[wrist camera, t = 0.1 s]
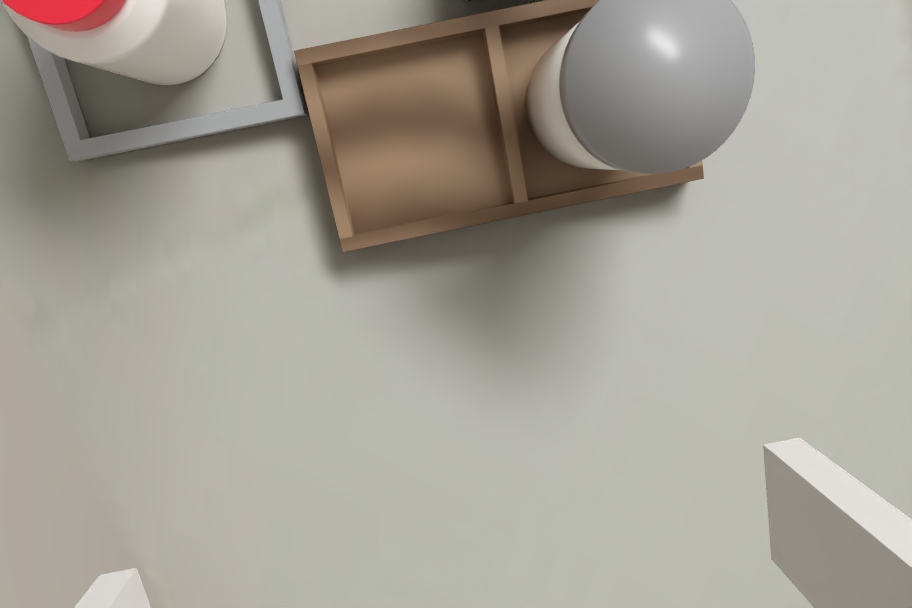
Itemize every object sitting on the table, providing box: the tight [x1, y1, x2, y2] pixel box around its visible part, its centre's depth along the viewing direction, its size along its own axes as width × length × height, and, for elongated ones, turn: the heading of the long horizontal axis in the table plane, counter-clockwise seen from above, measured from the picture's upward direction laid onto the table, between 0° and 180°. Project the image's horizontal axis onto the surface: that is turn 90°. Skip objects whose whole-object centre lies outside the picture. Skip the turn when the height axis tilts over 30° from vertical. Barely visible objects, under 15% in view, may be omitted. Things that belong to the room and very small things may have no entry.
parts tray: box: [27, 0, 308, 161], centre depth 35 cm, size 14×14×1 cm
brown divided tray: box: [294, 0, 704, 252], centre depth 37 cm, size 12×22×2 cm, turn 101°
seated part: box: [526, 0, 755, 174], centre depth 32 cm, size 8×8×11 cm
